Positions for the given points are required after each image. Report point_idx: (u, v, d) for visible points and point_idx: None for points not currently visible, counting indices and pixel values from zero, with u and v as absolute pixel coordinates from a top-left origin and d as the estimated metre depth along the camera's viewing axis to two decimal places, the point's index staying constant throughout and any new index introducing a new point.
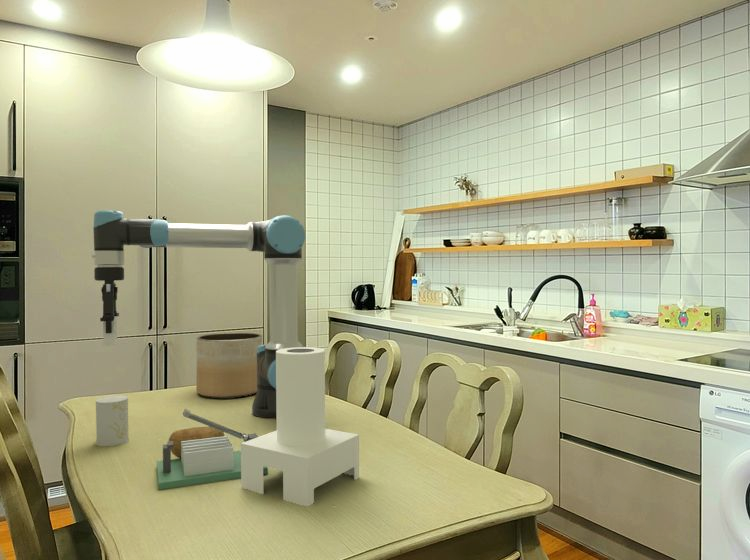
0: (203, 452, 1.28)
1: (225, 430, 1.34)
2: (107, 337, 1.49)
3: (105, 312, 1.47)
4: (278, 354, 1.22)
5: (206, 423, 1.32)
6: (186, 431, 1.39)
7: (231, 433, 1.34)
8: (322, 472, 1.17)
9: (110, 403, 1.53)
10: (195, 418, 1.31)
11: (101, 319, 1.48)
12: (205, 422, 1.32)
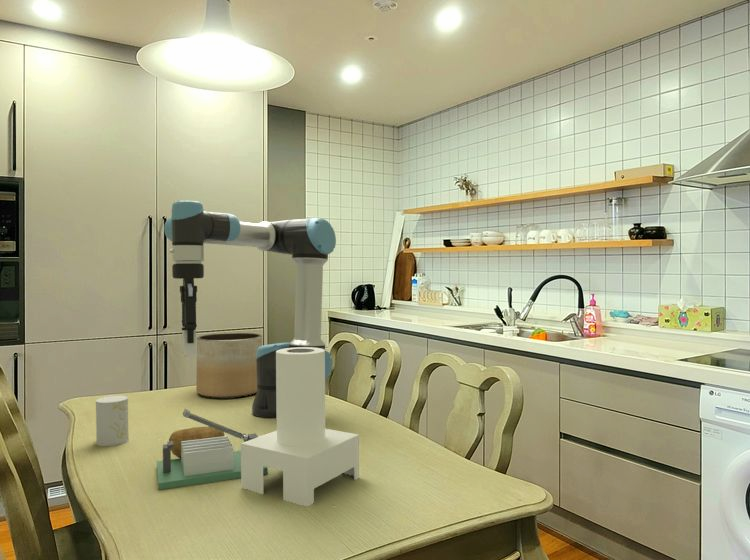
0: (203, 452, 1.28)
1: (225, 430, 1.34)
2: (189, 347, 1.37)
3: (188, 321, 1.34)
4: (278, 354, 1.22)
5: (206, 423, 1.32)
6: (186, 431, 1.39)
7: (231, 433, 1.34)
8: (322, 472, 1.17)
9: (110, 403, 1.53)
10: (195, 418, 1.31)
11: (183, 329, 1.35)
12: (205, 422, 1.32)
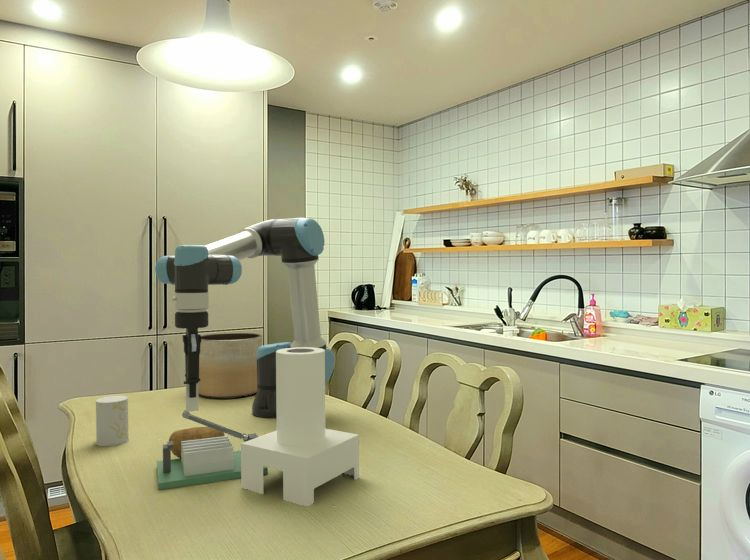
0: (203, 452, 1.28)
1: (225, 430, 1.34)
2: (191, 401, 1.31)
3: (190, 376, 1.28)
4: (278, 354, 1.22)
5: (206, 423, 1.32)
6: (186, 431, 1.39)
7: (231, 433, 1.34)
8: (322, 472, 1.17)
9: (110, 403, 1.53)
10: (195, 418, 1.31)
11: (185, 383, 1.29)
12: (205, 423, 1.32)
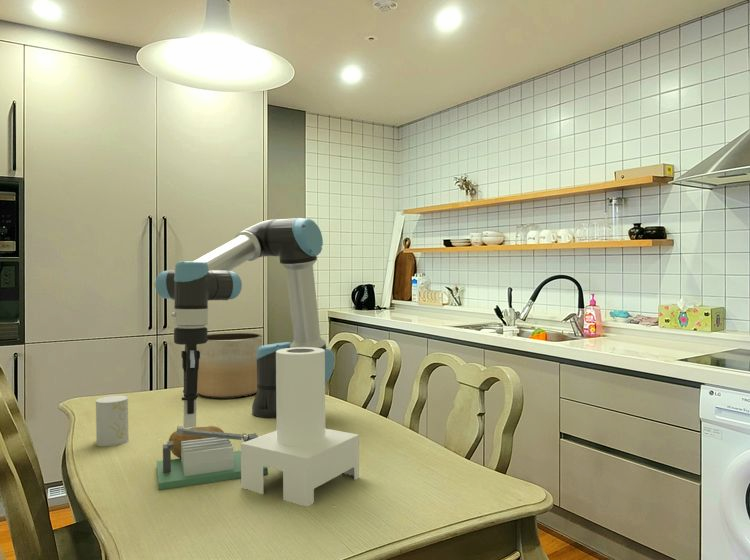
0: (203, 452, 1.28)
1: (223, 436, 1.33)
2: (189, 417, 1.30)
3: (188, 393, 1.27)
4: (278, 354, 1.22)
5: (202, 434, 1.32)
6: None
7: (230, 437, 1.34)
8: (322, 472, 1.17)
9: (110, 403, 1.53)
10: (190, 432, 1.30)
11: (183, 399, 1.29)
12: (201, 433, 1.31)
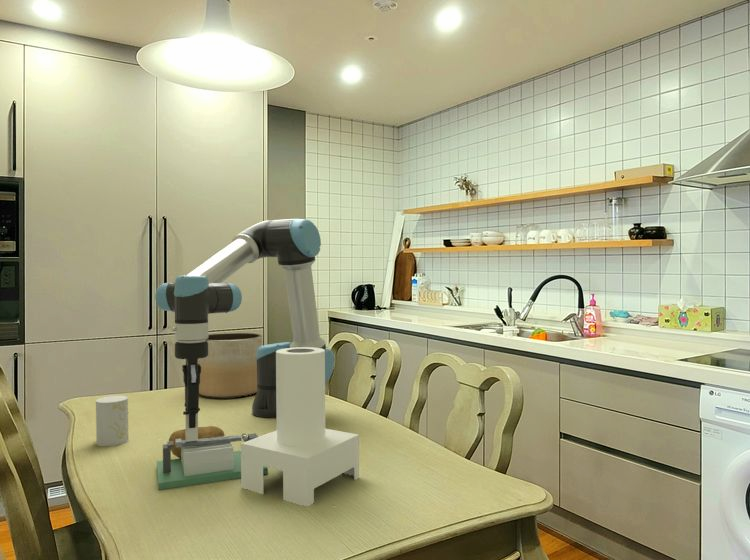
0: (203, 452, 1.28)
1: (222, 440, 1.33)
2: (190, 431, 1.31)
3: (190, 407, 1.28)
4: (278, 354, 1.22)
5: (201, 442, 1.32)
6: None
7: (229, 440, 1.34)
8: (322, 472, 1.17)
9: (110, 403, 1.53)
10: (188, 443, 1.30)
11: (184, 414, 1.29)
12: (200, 442, 1.31)
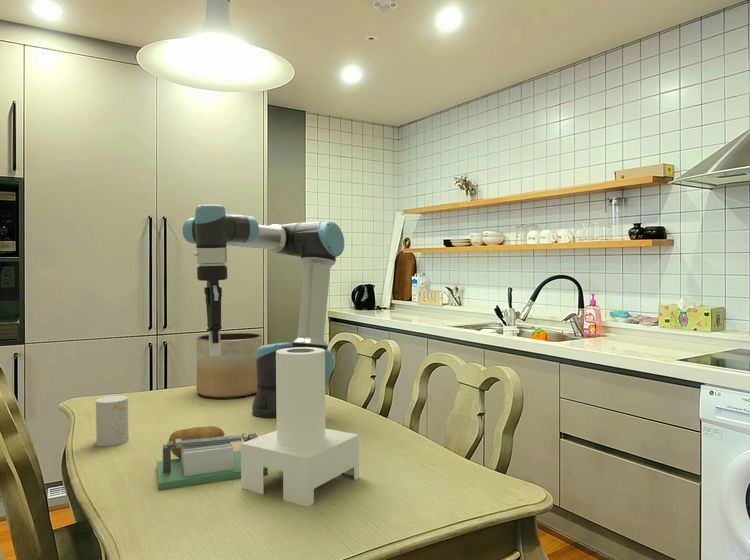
0: (203, 452, 1.28)
1: (222, 440, 1.33)
2: (214, 347, 1.45)
3: (213, 323, 1.41)
4: (278, 354, 1.22)
5: (201, 442, 1.32)
6: (186, 431, 1.39)
7: (229, 440, 1.34)
8: (322, 472, 1.17)
9: (110, 403, 1.53)
10: (188, 443, 1.30)
11: (208, 330, 1.43)
12: (200, 442, 1.31)
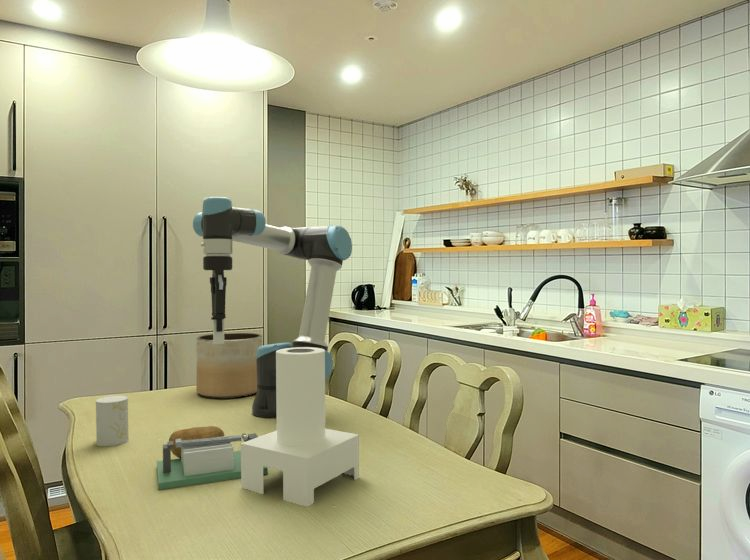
0: (203, 452, 1.28)
1: (222, 440, 1.33)
2: (218, 335, 1.48)
3: (217, 312, 1.45)
4: (278, 354, 1.22)
5: (201, 442, 1.32)
6: (186, 431, 1.39)
7: (229, 440, 1.34)
8: (322, 472, 1.17)
9: (110, 403, 1.53)
10: (188, 443, 1.30)
11: (212, 319, 1.47)
12: (200, 442, 1.31)
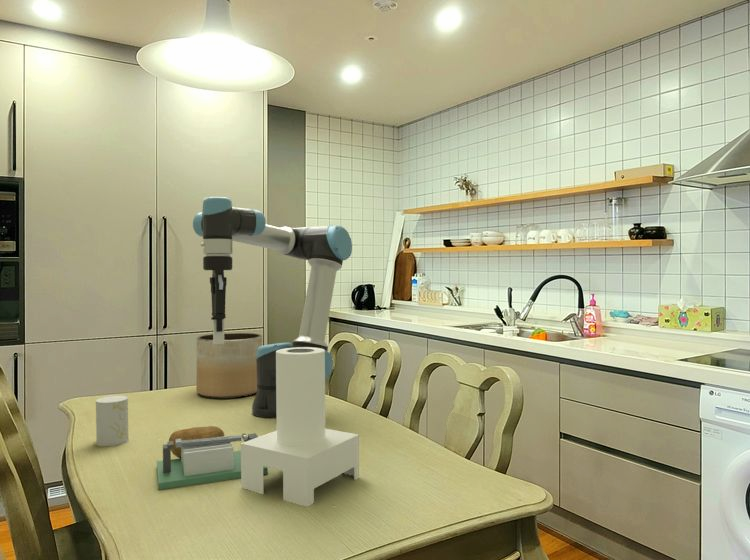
0: (203, 452, 1.28)
1: (222, 440, 1.33)
2: (218, 335, 1.48)
3: (217, 312, 1.45)
4: (278, 354, 1.22)
5: (201, 442, 1.32)
6: (186, 431, 1.39)
7: (229, 440, 1.34)
8: (322, 472, 1.17)
9: (110, 403, 1.53)
10: (188, 443, 1.30)
11: (212, 319, 1.47)
12: (200, 442, 1.31)
